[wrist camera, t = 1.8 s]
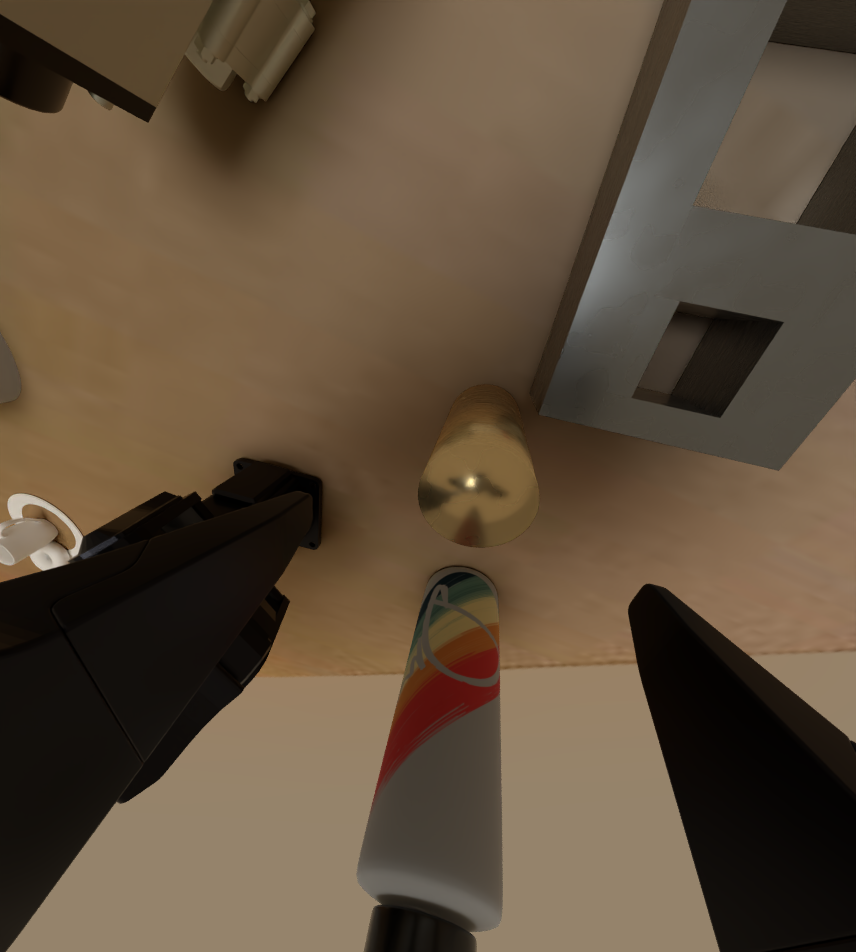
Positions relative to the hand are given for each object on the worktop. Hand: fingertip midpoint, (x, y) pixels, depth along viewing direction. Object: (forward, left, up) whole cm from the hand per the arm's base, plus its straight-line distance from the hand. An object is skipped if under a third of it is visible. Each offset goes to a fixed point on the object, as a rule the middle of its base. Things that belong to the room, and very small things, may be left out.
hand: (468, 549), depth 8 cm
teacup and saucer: (-22, +41, -12) cm, 48 cm away
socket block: (+9, -7, -11) cm, 16 cm away
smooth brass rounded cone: (0, 0, -12) cm, 12 cm away
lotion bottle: (-14, -2, -12) cm, 18 cm away
